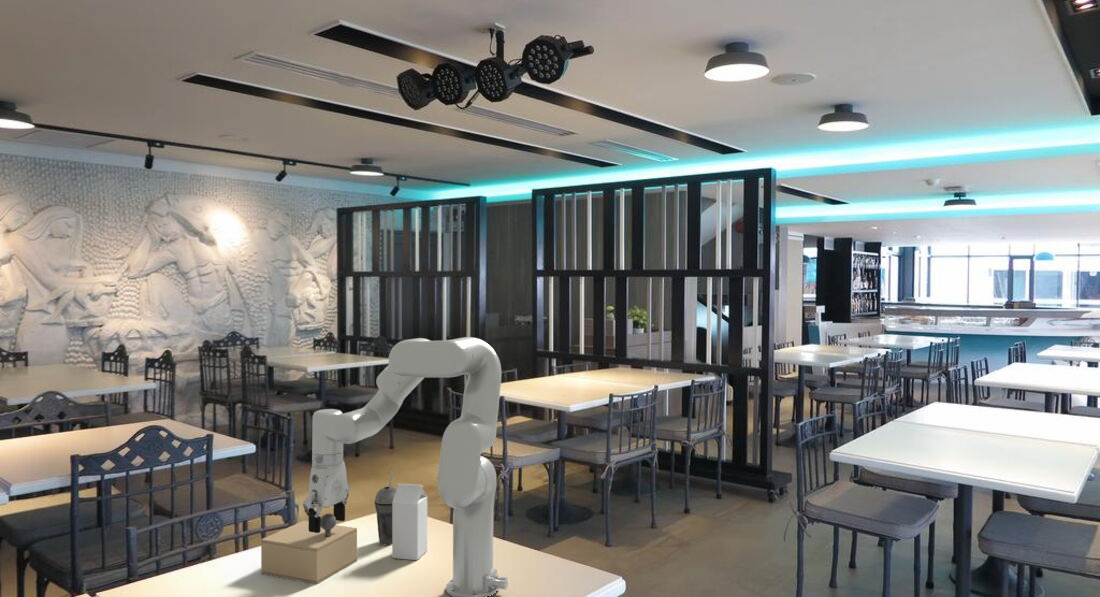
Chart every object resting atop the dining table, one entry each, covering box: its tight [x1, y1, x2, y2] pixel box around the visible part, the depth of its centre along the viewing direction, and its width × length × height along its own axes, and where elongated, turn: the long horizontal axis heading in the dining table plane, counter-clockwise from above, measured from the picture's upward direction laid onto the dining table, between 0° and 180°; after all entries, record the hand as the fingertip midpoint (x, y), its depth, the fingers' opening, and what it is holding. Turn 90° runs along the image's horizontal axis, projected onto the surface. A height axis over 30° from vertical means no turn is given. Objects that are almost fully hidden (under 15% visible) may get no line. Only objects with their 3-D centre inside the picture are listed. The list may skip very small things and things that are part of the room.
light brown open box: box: [260, 530, 358, 585], centre depth 188 cm, size 17×16×8 cm
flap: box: [260, 513, 358, 551], centre depth 187 cm, size 17×16×6 cm
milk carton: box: [391, 483, 428, 561], centre depth 197 cm, size 7×7×19 cm
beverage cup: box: [374, 471, 397, 546], centre depth 206 cm, size 7×7×20 cm
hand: (327, 526), depth 186 cm, fingers open, 9 cm apart
